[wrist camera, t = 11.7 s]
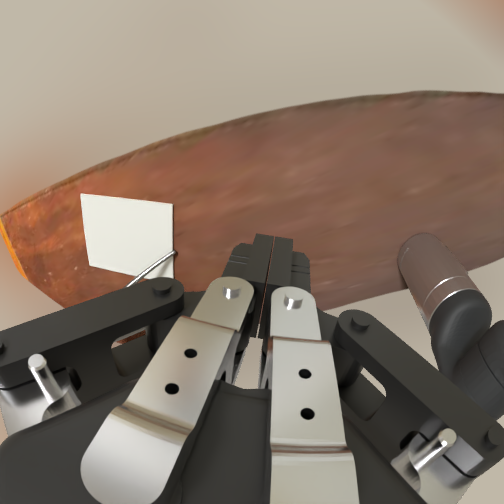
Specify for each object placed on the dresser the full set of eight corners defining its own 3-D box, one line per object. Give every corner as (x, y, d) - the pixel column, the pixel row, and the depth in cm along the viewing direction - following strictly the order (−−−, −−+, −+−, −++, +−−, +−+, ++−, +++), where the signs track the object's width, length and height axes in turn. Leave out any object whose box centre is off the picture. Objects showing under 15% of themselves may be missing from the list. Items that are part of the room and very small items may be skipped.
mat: (173, 204, 50) (172, 204, 50) (173, 282, 58) (173, 283, 57) (81, 193, 52) (80, 194, 51) (90, 264, 59) (89, 265, 59)
